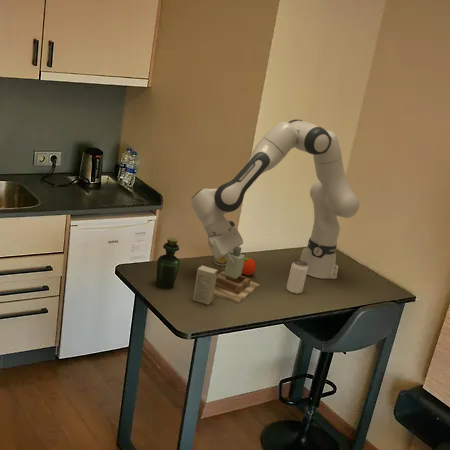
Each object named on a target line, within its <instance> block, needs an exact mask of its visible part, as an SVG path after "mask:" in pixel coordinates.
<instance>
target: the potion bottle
mask: <svg viewBox="0 0 450 450" xmlns="http://www.w3.org/2000/svg"><path fill="white" fill-rule="evenodd" d="M178 241H179V239H177V238H176V237H172V236H171V237H167V242H165V243H164V244H163V246H162V248H163V249H164V250H165V254H162V255H161V254H160V256H159V257H158V258H157V264H156V265H157V266H156V278H155V284H156V286H157V287H159V288H161V289H164V290H165V289H167V290H169V289H172V288H173V287H174V286H175V282H176V279H177V276H178V272H179V268H180V264H181V261H180V259H179V258H178V257H177V256H175V254H176V252H179V251H180V246H179V244H178Z"/></svg>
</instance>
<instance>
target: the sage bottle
mask: <svg viewBox="0 0 450 450" xmlns="http://www.w3.org/2000/svg"><path fill="white" fill-rule="evenodd" d="M241 252H242V247H240V246H239V247H235V250H234V251H233V250H232V251H231V252H229V254H230V257H231V258H232V259H234V260H235V262H236V263H235V264H233V265H232V266H231V265H230V264H229V262H228V261H227V262H226V265H225V268H224V271H223V272H224V275H227V276H230V277H232V278H235V279H236V278H238V277H239V276H240V275H242V274H243V273H242V269H243V264H244V260H245V258H246V255H244V254H242V253H241Z"/></svg>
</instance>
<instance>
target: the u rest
mask: <svg viewBox="0 0 450 450" xmlns="http://www.w3.org/2000/svg"><path fill="white" fill-rule="evenodd" d="M224 272H225V271H221V272H219V273H217V277H216V283H215V288H214V294H213V295H216V296H218V297H220V298H223V299H226V300H229V301H232V302H234V303H237V304H241V302H242V301H244V300H245V299H246V298H247V297H248V296H250V295H251V294H252V293H253V292H255V291H256V290H257V289H258V288H259V287H260V284H259V283H256V282H254V281H252V280H251V278H250V277H248V276H245V275H242V274H241V275H240V276H239V277H238V278H236V279H235V278H232V277H230V276H227V275H224Z"/></svg>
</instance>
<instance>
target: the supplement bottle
mask: <svg viewBox="0 0 450 450" xmlns="http://www.w3.org/2000/svg"><path fill="white" fill-rule="evenodd" d="M213 260H214V261H213V262H214V264H215V265H217V266H221V267H224V266H225V267H226V262H227V260H226V259H225V258H224V257H221V258H219V259H216V258H215V257H214V259H213Z"/></svg>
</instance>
